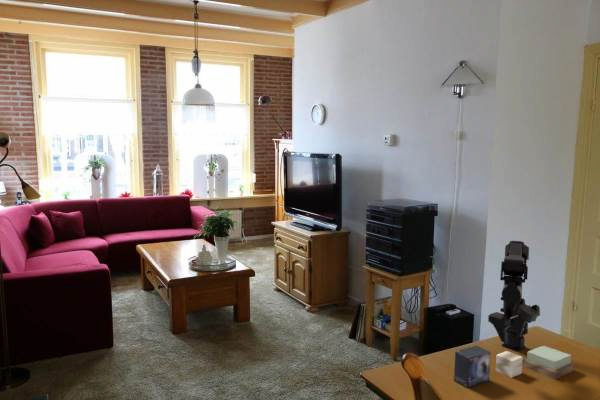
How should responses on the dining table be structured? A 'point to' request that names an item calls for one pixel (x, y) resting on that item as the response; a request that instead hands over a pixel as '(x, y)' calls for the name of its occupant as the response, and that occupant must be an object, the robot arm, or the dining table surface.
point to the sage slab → (549, 357)
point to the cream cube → (509, 364)
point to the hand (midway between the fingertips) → (511, 338)
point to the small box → (472, 366)
